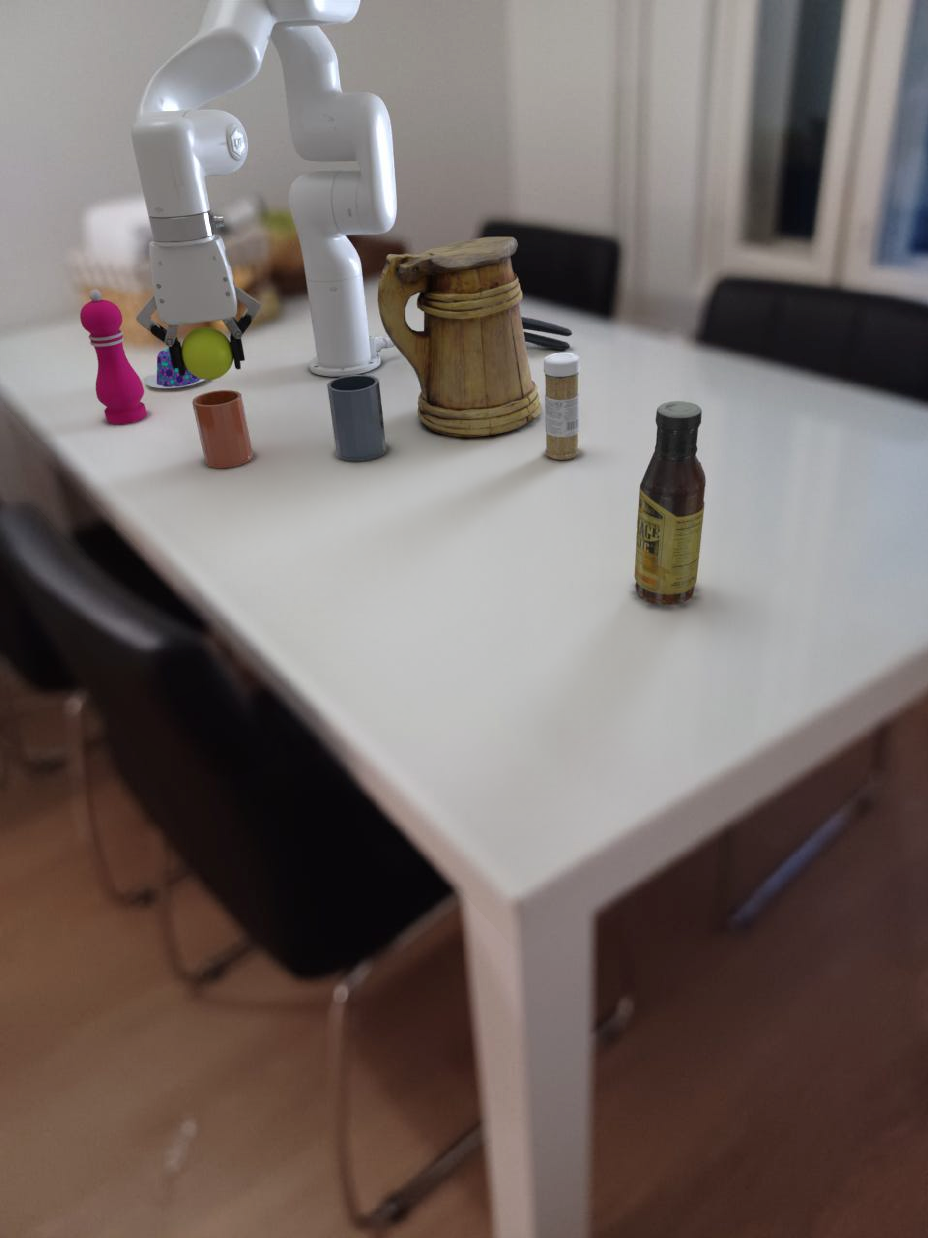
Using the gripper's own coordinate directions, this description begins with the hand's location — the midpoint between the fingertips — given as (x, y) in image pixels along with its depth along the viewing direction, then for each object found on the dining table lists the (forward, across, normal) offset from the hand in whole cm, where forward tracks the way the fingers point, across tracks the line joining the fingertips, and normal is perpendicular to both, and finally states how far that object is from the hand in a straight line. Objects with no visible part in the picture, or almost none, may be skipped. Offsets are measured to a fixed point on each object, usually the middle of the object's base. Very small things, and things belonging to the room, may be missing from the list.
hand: (210, 368), depth 128 cm
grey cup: (+13, -19, +4) cm, 23 cm away
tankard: (+13, -35, -3) cm, 38 cm away
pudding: (+13, +8, -41) cm, 44 cm away
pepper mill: (+13, +16, -24) cm, 32 cm away
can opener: (+13, -54, -37) cm, 66 cm away
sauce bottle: (+13, -44, +53) cm, 70 cm away
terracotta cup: (+13, 0, 0) cm, 13 cm away
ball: (-2, 0, 0) cm, 2 cm away
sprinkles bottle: (+13, -45, +14) cm, 49 cm away
